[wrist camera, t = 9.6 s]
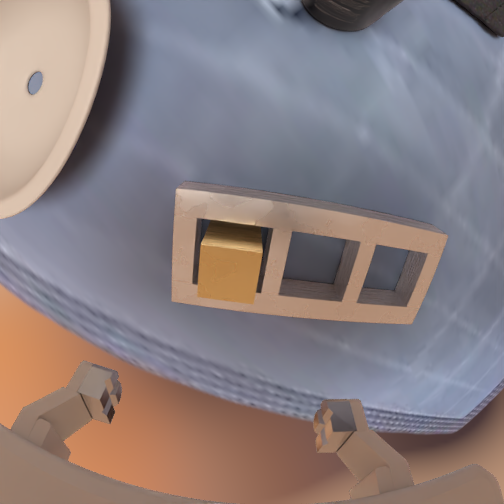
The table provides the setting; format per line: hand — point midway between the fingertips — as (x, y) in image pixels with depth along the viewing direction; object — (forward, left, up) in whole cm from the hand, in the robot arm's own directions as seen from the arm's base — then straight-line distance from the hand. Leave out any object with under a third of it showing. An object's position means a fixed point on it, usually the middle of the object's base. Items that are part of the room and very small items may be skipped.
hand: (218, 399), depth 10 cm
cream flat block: (-7, 0, -16) cm, 17 cm away
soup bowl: (+22, -14, -16) cm, 31 cm away
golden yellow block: (0, 0, -16) cm, 16 cm away
